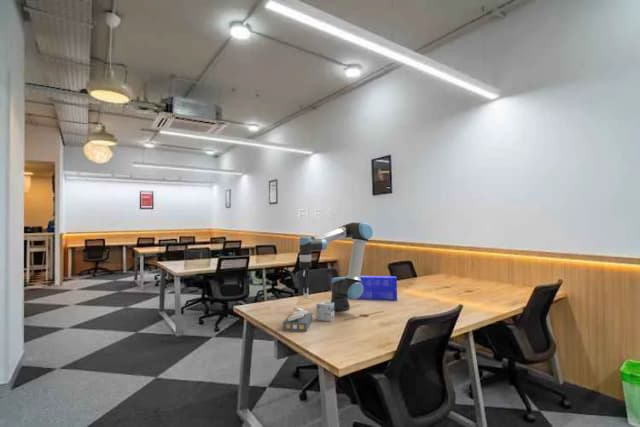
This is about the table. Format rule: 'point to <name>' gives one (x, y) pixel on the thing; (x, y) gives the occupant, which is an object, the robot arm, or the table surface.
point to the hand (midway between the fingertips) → (305, 298)
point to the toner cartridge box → (379, 287)
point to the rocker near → (295, 316)
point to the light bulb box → (325, 311)
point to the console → (298, 323)
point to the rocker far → (298, 309)
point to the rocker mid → (298, 312)
